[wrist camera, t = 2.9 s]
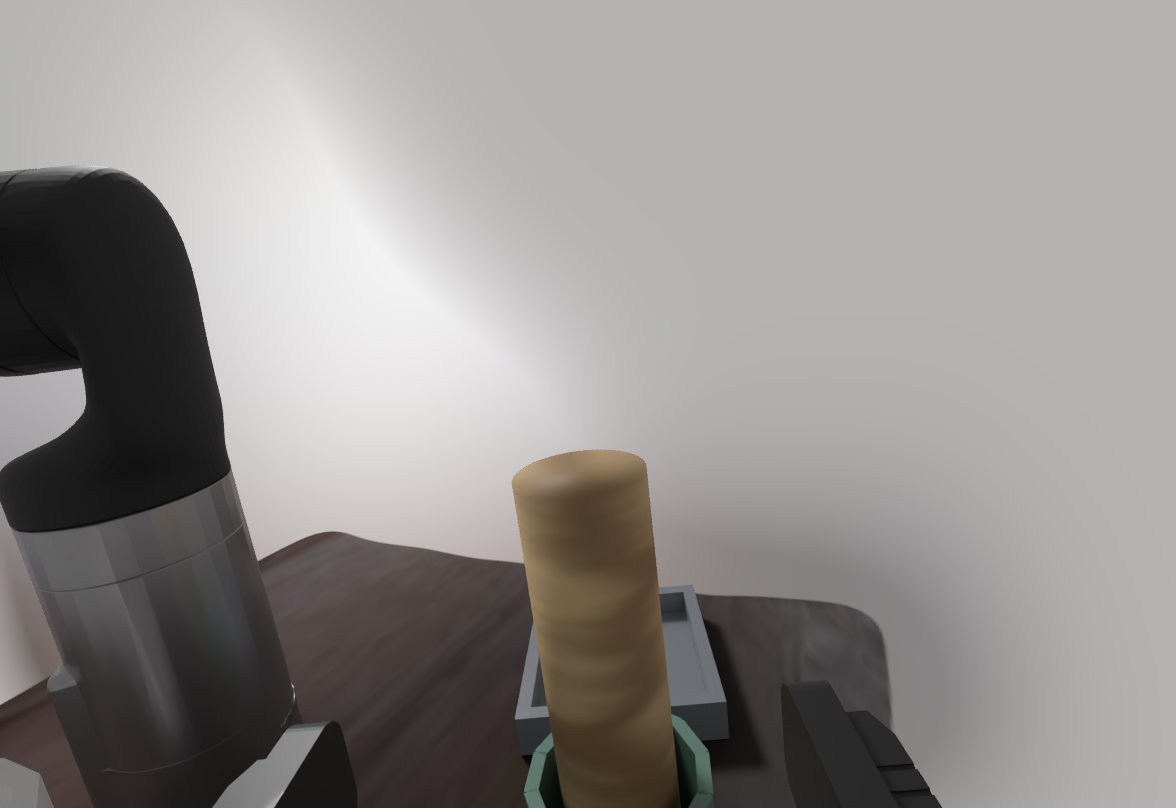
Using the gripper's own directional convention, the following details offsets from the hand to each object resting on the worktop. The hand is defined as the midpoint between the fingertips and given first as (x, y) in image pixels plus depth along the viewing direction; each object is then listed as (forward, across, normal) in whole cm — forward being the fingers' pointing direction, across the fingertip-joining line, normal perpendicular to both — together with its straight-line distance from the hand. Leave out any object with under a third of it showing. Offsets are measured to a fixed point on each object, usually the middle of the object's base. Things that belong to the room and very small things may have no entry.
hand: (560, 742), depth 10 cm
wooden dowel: (+12, 0, +17) cm, 20 cm away
